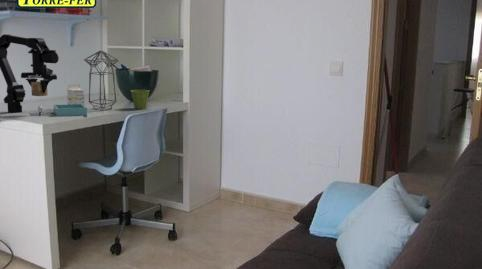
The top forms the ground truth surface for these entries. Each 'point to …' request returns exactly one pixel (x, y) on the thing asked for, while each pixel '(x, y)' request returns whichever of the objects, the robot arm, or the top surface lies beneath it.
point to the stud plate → (40, 113)
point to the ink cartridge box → (75, 94)
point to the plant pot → (140, 98)
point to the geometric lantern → (100, 76)
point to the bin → (70, 110)
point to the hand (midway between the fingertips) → (39, 92)
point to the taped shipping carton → (37, 89)
